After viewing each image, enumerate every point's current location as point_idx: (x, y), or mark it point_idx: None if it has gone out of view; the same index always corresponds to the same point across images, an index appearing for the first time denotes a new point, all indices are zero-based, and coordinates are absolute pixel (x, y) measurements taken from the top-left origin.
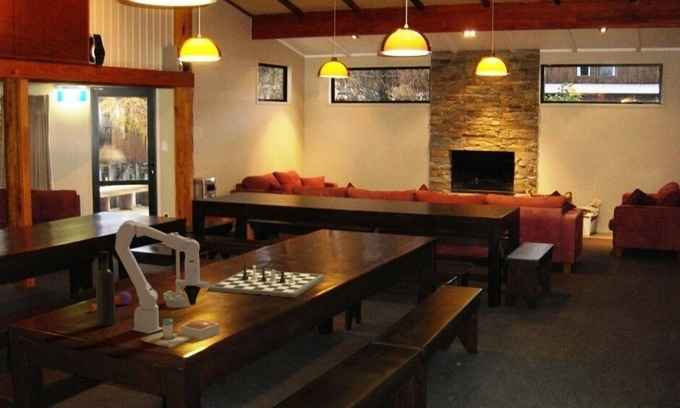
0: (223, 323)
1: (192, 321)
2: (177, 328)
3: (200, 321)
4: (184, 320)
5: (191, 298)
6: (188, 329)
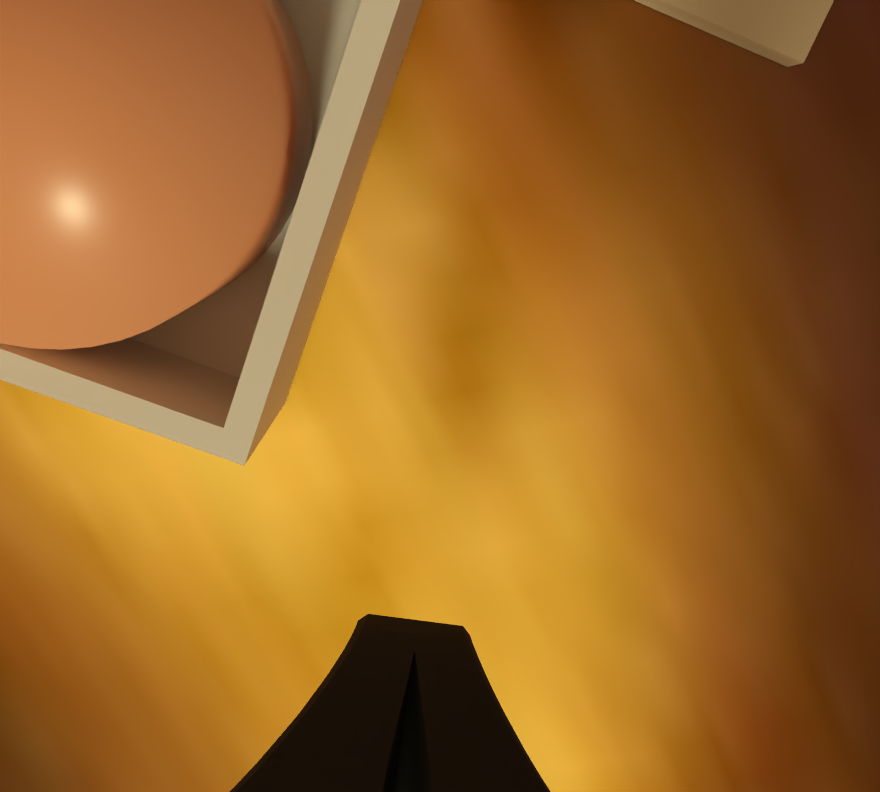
0: (121, 759)
1: (252, 171)
2: (678, 379)
3: (77, 217)
4: (729, 767)
5: (351, 735)
6: None
